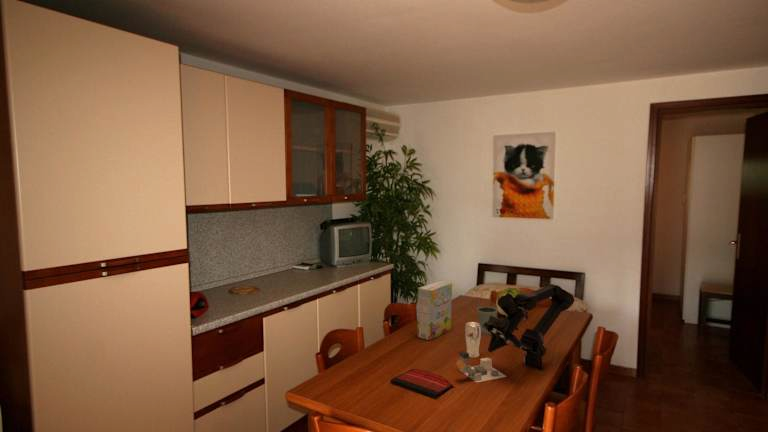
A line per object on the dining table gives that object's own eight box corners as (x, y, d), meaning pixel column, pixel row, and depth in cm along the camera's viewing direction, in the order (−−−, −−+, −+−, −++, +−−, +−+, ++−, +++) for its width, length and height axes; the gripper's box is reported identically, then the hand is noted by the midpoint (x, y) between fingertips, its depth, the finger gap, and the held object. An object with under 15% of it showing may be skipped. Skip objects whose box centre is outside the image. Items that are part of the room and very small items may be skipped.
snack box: (431, 341, 215) (431, 290, 213) (416, 338, 220) (416, 287, 218) (452, 329, 232) (452, 282, 230) (438, 326, 237) (438, 280, 235)
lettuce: (488, 319, 250) (488, 292, 248) (505, 308, 271) (505, 283, 270) (514, 323, 241) (514, 296, 240) (529, 312, 262) (529, 286, 261)
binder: (436, 394, 157) (390, 378, 170) (436, 400, 157) (389, 384, 170) (457, 380, 170) (413, 367, 183) (457, 386, 170) (413, 372, 183)
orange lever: (474, 370, 174) (458, 358, 171) (479, 374, 171) (463, 362, 168) (471, 375, 174) (455, 364, 171) (476, 379, 170) (459, 367, 167)
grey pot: (495, 328, 233) (495, 306, 232) (498, 335, 223) (498, 312, 222) (476, 328, 234) (476, 306, 233) (478, 334, 224) (478, 311, 223)
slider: (488, 366, 182) (488, 357, 182) (491, 369, 180) (491, 359, 180) (480, 368, 181) (480, 358, 181) (483, 370, 179) (483, 361, 178)
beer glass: (469, 360, 191) (469, 327, 190) (462, 354, 198) (462, 322, 197) (483, 359, 193) (483, 325, 192) (476, 353, 200) (476, 321, 199)
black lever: (464, 366, 181) (464, 350, 181) (468, 369, 178) (468, 353, 178) (459, 366, 181) (459, 351, 180) (463, 370, 177) (463, 354, 177)
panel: (486, 365, 186) (486, 357, 186) (506, 378, 173) (506, 370, 173) (457, 370, 181) (457, 362, 181) (476, 385, 168) (476, 375, 168)
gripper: (487, 302, 183) (464, 331, 180) (515, 315, 166) (490, 347, 163) (502, 318, 186) (480, 347, 183) (531, 332, 169) (507, 364, 166)
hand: (488, 351), depth 174 cm, fingers closed
